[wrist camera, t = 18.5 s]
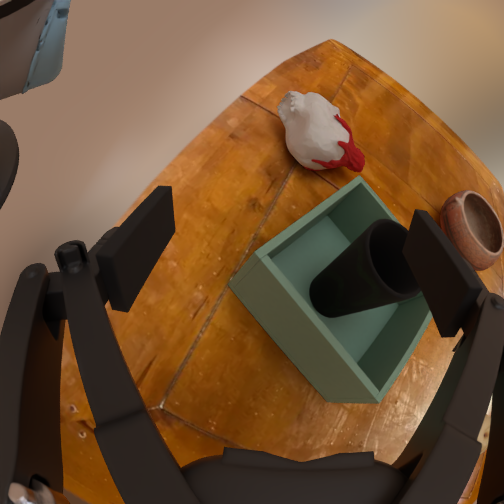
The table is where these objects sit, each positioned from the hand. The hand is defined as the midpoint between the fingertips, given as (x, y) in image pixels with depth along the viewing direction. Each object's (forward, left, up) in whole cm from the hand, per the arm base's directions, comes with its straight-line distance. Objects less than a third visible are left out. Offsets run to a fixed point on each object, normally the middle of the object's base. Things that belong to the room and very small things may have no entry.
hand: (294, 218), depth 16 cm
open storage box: (+8, +11, -18) cm, 23 cm away
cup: (+7, +11, -17) cm, 22 cm away
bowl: (+20, +44, -18) cm, 52 cm away
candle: (-9, +26, -18) cm, 33 cm away
